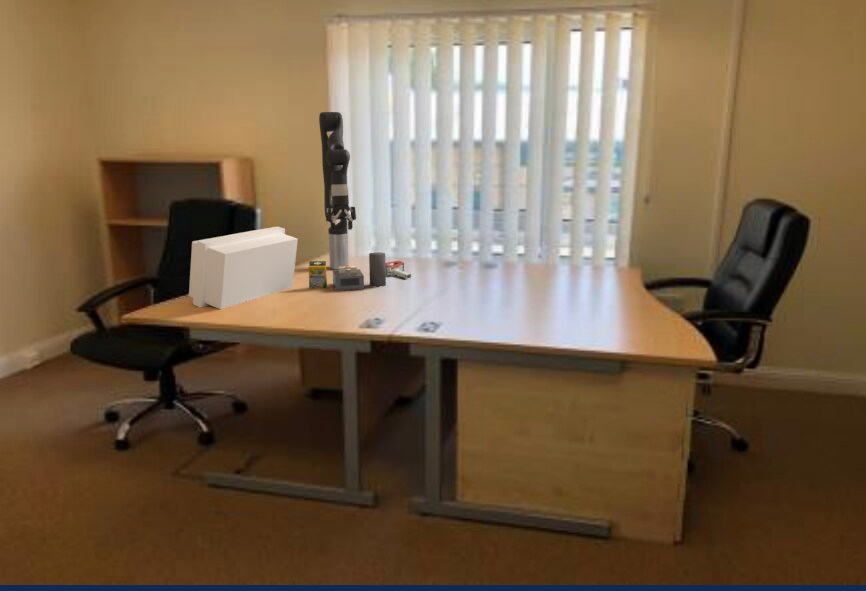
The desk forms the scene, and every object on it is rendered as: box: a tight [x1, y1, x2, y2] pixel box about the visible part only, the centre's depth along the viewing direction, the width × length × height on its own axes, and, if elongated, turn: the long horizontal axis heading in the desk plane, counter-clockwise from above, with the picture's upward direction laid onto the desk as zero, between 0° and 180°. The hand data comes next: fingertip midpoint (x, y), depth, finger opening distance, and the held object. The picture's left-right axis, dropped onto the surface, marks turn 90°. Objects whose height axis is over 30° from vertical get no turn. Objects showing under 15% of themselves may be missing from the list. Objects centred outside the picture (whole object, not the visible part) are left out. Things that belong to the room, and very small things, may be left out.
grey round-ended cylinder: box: [368, 251, 387, 288], centre depth 300 cm, size 7×7×14 cm
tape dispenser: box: [385, 260, 412, 280], centre depth 323 cm, size 18×5×20 cm
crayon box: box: [308, 260, 328, 289], centre depth 295 cm, size 7×3×12 cm, turn 93°
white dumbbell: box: [338, 265, 358, 273], centre depth 297 cm, size 1×8×3 cm, turn 103°
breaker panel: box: [332, 268, 365, 291], centre depth 298 cm, size 14×12×6 cm
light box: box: [188, 226, 299, 310], centre depth 279 cm, size 45×17×26 cm, turn 151°
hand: (341, 230), depth 313 cm, fingers open, 8 cm apart
